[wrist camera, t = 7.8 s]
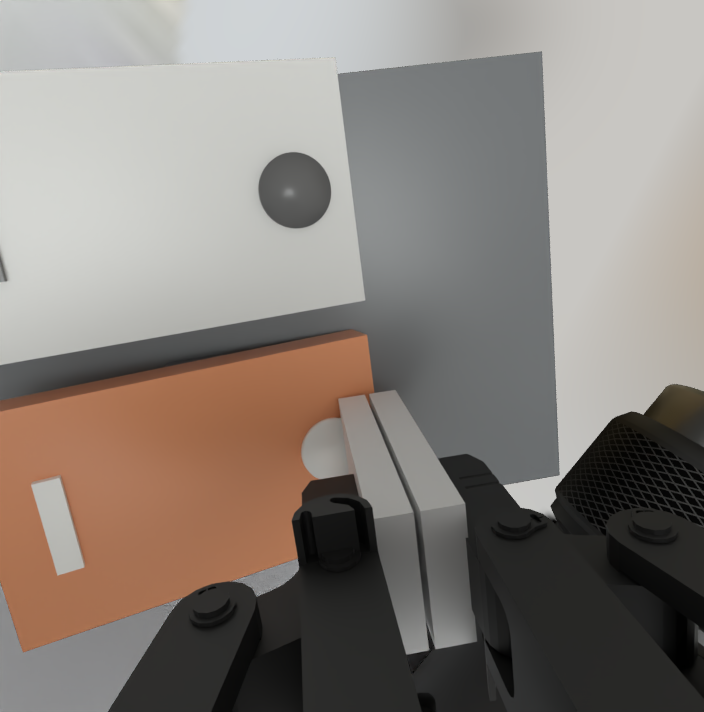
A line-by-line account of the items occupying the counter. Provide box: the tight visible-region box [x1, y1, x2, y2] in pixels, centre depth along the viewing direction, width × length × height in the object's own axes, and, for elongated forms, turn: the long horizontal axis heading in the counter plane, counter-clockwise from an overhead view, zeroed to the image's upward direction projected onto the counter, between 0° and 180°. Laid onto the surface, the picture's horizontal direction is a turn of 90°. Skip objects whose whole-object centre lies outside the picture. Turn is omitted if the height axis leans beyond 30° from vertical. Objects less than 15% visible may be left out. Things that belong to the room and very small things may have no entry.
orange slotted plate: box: [0, 329, 374, 652], centre depth 15 cm, size 10×6×1 cm, turn 97°
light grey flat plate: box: [0, 57, 365, 365], centre depth 13 cm, size 10×6×1 cm, turn 97°
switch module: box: [0, 52, 559, 485], centre depth 18 cm, size 28×13×6 cm, turn 97°
